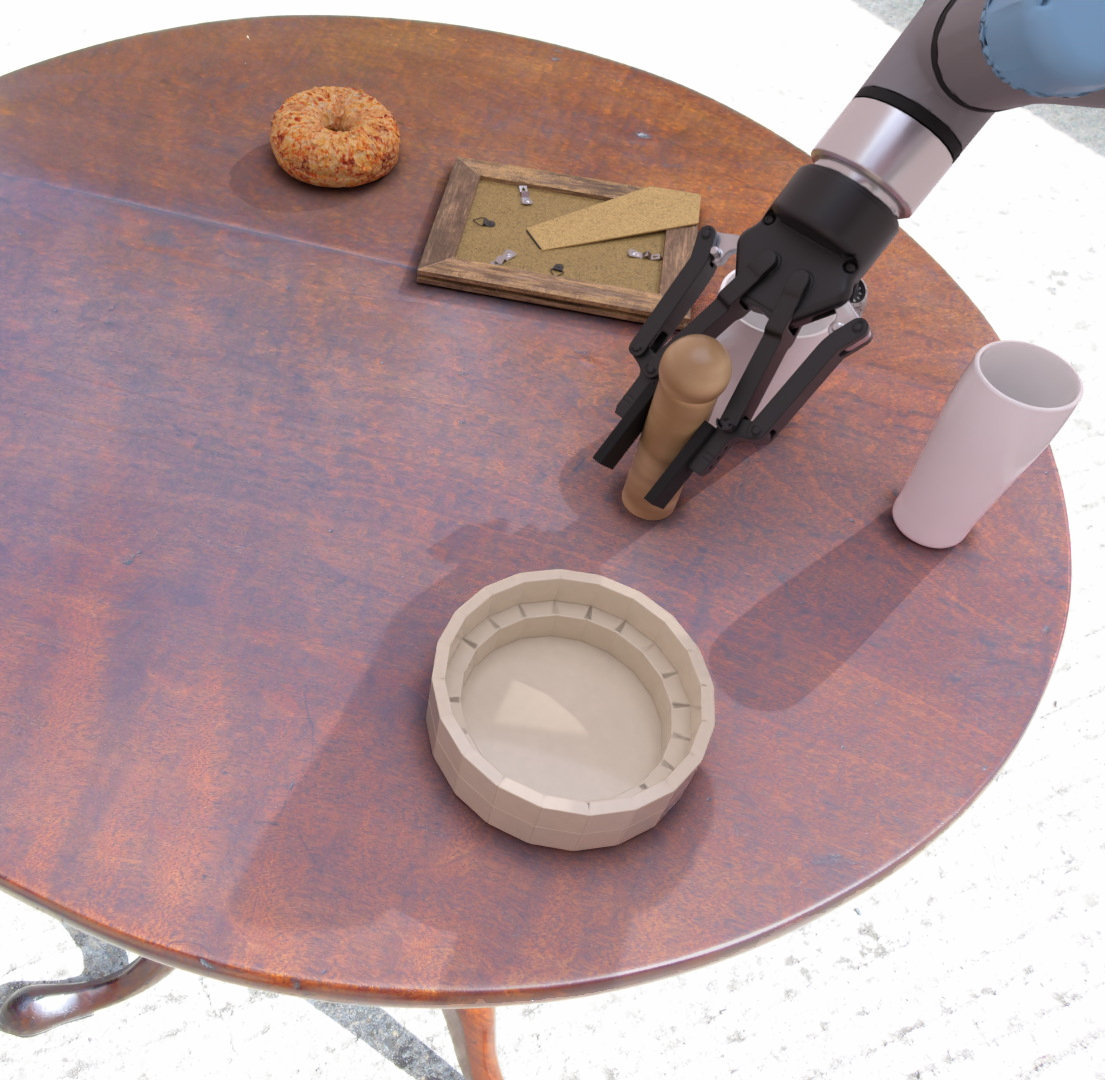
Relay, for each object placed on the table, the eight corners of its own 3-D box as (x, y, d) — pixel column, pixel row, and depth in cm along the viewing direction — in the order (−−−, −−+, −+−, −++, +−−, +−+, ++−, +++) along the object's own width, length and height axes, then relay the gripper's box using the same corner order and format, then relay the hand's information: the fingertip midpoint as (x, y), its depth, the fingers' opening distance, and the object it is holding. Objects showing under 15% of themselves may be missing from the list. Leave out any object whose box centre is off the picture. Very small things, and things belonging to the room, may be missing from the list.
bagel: (253, 184, 103) (250, 136, 99) (292, 112, 111) (290, 66, 107) (383, 206, 101) (385, 159, 98) (413, 132, 110) (416, 85, 106)
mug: (627, 396, 87) (659, 290, 78) (746, 357, 90) (788, 252, 82) (689, 469, 82) (730, 364, 73) (812, 425, 85) (864, 320, 77)
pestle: (687, 491, 80) (749, 334, 68) (668, 532, 78) (730, 377, 66) (629, 468, 82) (680, 310, 70) (608, 509, 79) (658, 352, 67)
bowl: (721, 681, 70) (747, 635, 66) (640, 903, 61) (664, 866, 56) (490, 582, 74) (500, 532, 70) (380, 775, 65) (384, 732, 61)
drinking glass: (885, 478, 82) (977, 326, 70) (976, 507, 81) (1086, 356, 69) (873, 541, 78) (969, 391, 66) (969, 572, 77) (1085, 424, 65)
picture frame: (696, 210, 103) (455, 170, 106) (701, 194, 102) (457, 153, 104) (685, 333, 92) (416, 284, 94) (691, 316, 90) (417, 267, 93)
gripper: (975, 277, 68) (737, 563, 74) (758, 156, 76) (558, 424, 82) (971, 237, 62) (711, 555, 67) (734, 110, 69) (519, 405, 75)
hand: (628, 483), depth 74 cm, fingers closed on pestle, 4 cm apart
